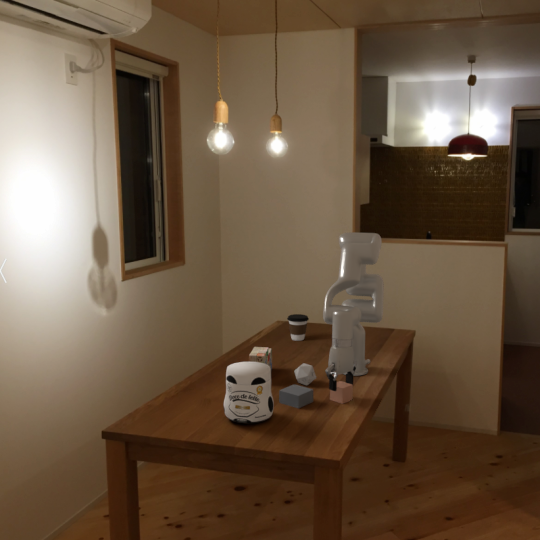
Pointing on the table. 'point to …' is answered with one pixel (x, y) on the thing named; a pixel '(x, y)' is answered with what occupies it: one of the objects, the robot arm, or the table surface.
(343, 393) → the terracotta cube
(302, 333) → the coffee cup
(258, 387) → the milk container
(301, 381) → the die
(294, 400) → the charcoal block
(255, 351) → the stack of blocks
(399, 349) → the table surface
